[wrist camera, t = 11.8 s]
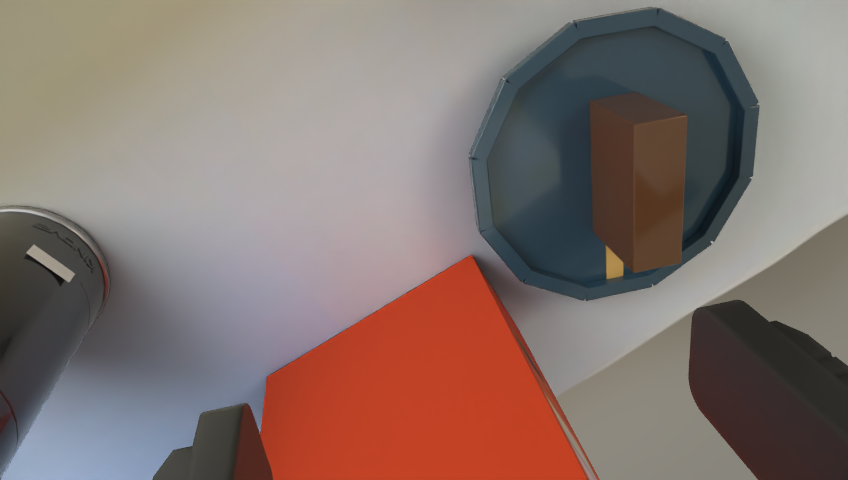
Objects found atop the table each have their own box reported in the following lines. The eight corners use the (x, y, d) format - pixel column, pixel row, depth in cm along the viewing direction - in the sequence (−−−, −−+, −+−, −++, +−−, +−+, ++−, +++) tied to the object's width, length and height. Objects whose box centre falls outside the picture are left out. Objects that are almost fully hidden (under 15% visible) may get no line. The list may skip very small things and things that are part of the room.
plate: (451, 38, 36) (480, 57, 30) (753, -14, 38) (838, -6, 32) (483, 309, 44) (511, 367, 38) (731, 257, 46) (795, 305, 40)
